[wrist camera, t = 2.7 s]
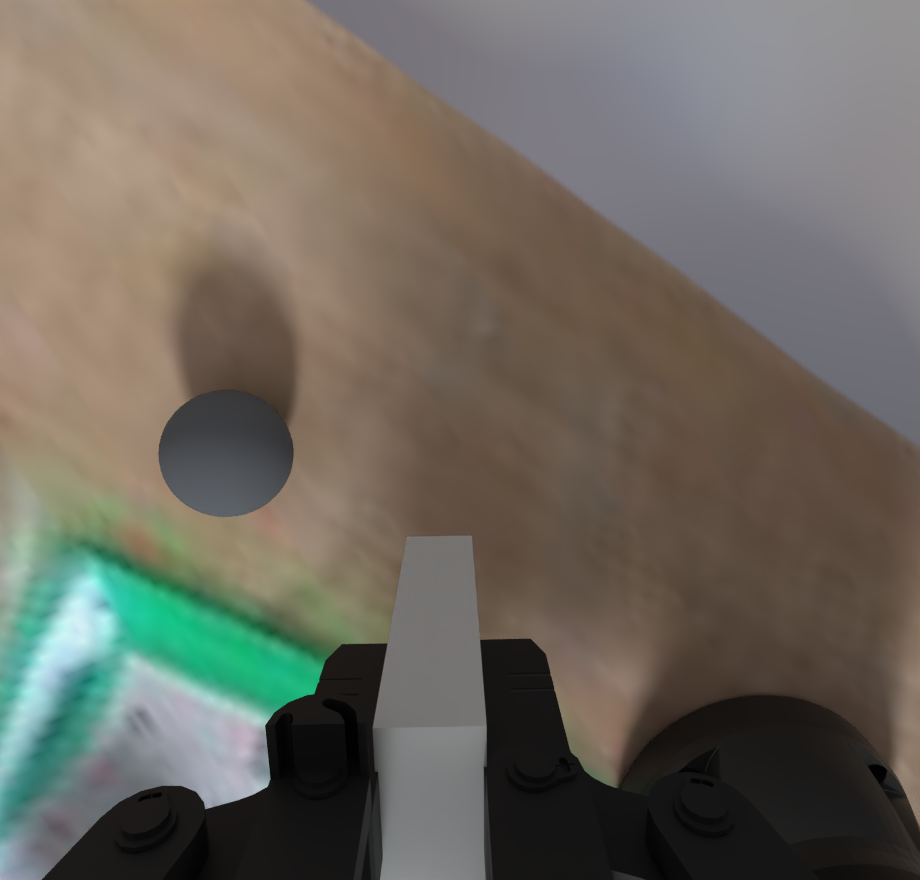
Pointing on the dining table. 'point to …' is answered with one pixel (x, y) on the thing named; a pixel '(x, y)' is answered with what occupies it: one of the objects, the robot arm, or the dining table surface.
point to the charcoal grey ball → (226, 453)
